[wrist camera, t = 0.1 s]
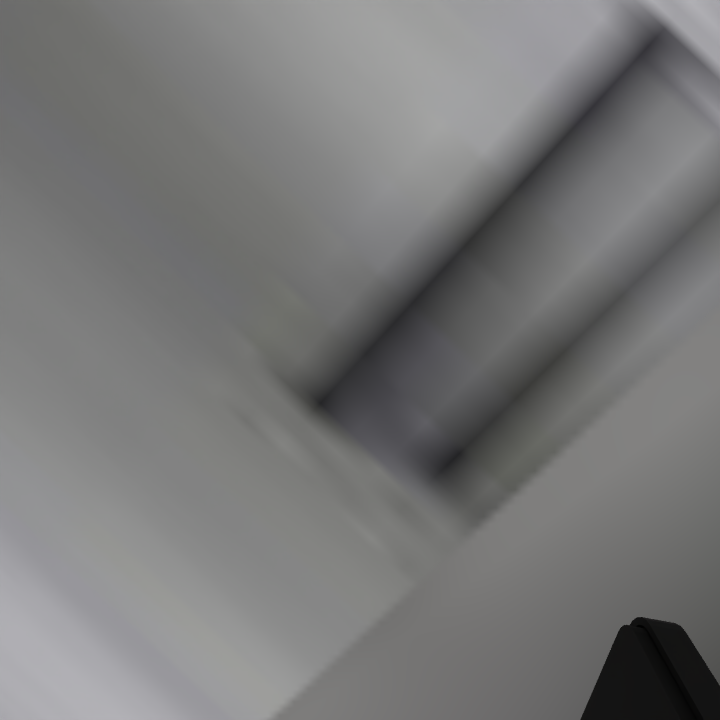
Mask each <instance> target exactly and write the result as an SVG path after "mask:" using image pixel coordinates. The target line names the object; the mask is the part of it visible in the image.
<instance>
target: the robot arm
mask: <svg viewBox="0 0 720 720" xmlns="http://www.w3.org/2000/svg"><path fill="white" fill-rule="evenodd" d="M581 720H720V686H719V684H718V682H717V681H716V679H715V678H714V676H713V675H712V673H711V671H710V670H709V668H708V667H707V665H706V663H705V662H704V660H703V659H702V657H701V655H700V654H699V652H698V651H697V649H696V648H695V646H694V644H693V643H692V641H691V640H690V638H689V637H688V635H687V633H686V632H685V631H684V629H683V628H682V627H681V626H679V625H678V624H676V623H671V622H666V621H660V620H654V619H649V618H643V617H637V618H636V619H634V620H633V621H632V622H631V624H630V625H624V626H622V627H621V628H620V630H619V632H618V634H617V637H616V638H615V641H614V643H613V645H612V648H611V650H610V652H609V655H608V657H607V659H606V662H605V664H604V666H603V669H602V671H601V673H600V676H599V678H598V680H597V683H596V685H595V687H594V690H593V692H592V694H591V697H590V699H589V701H588V703H587V706H586V708H585V711H584V713H583V715H582V717H581Z"/></svg>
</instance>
